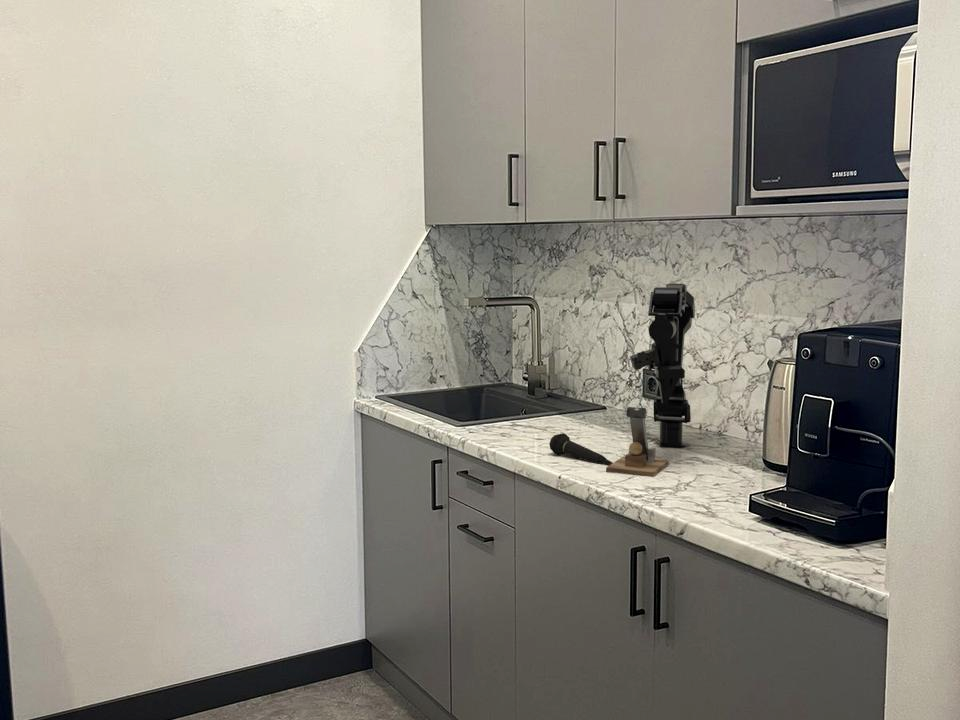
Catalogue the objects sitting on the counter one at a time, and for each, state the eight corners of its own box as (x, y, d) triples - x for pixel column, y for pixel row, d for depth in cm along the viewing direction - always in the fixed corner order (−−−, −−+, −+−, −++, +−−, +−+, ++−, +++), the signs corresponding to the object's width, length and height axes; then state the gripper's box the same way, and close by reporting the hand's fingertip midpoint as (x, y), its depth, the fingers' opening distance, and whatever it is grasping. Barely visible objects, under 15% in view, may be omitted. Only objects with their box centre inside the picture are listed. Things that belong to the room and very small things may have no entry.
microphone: (617, 478, 229) (556, 454, 243) (624, 454, 229) (563, 432, 243) (603, 474, 225) (542, 450, 240) (610, 451, 225) (549, 428, 240)
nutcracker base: (623, 460, 233) (623, 433, 232) (668, 464, 228) (669, 437, 227) (606, 471, 221) (606, 443, 221) (653, 476, 217) (653, 448, 216)
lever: (635, 455, 230) (628, 404, 223) (652, 456, 228) (645, 406, 221) (632, 461, 228) (626, 410, 221) (649, 463, 226) (643, 411, 219)
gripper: (627, 336, 244) (626, 397, 245) (637, 342, 225) (636, 409, 227) (672, 336, 243) (671, 397, 245) (686, 343, 225) (684, 409, 226)
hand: (664, 403), depth 236 cm, fingers closed
